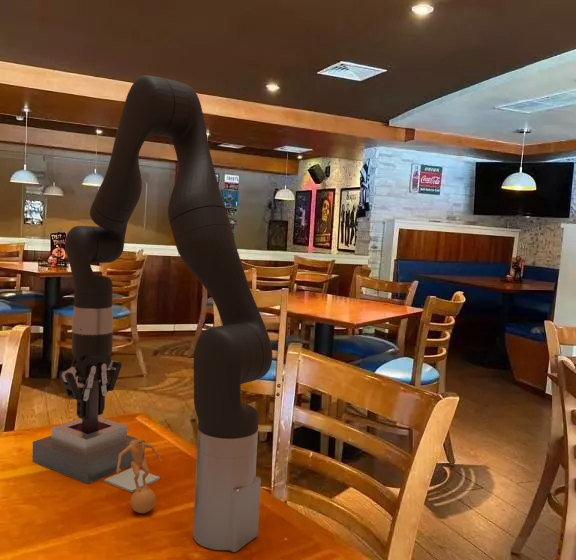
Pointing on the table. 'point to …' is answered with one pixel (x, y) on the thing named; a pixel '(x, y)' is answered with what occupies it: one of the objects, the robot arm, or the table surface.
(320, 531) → the table surface
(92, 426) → the dark grey cylinder
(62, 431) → the box
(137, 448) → the figurine
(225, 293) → the robot arm
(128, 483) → the pad
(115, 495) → the table surface
